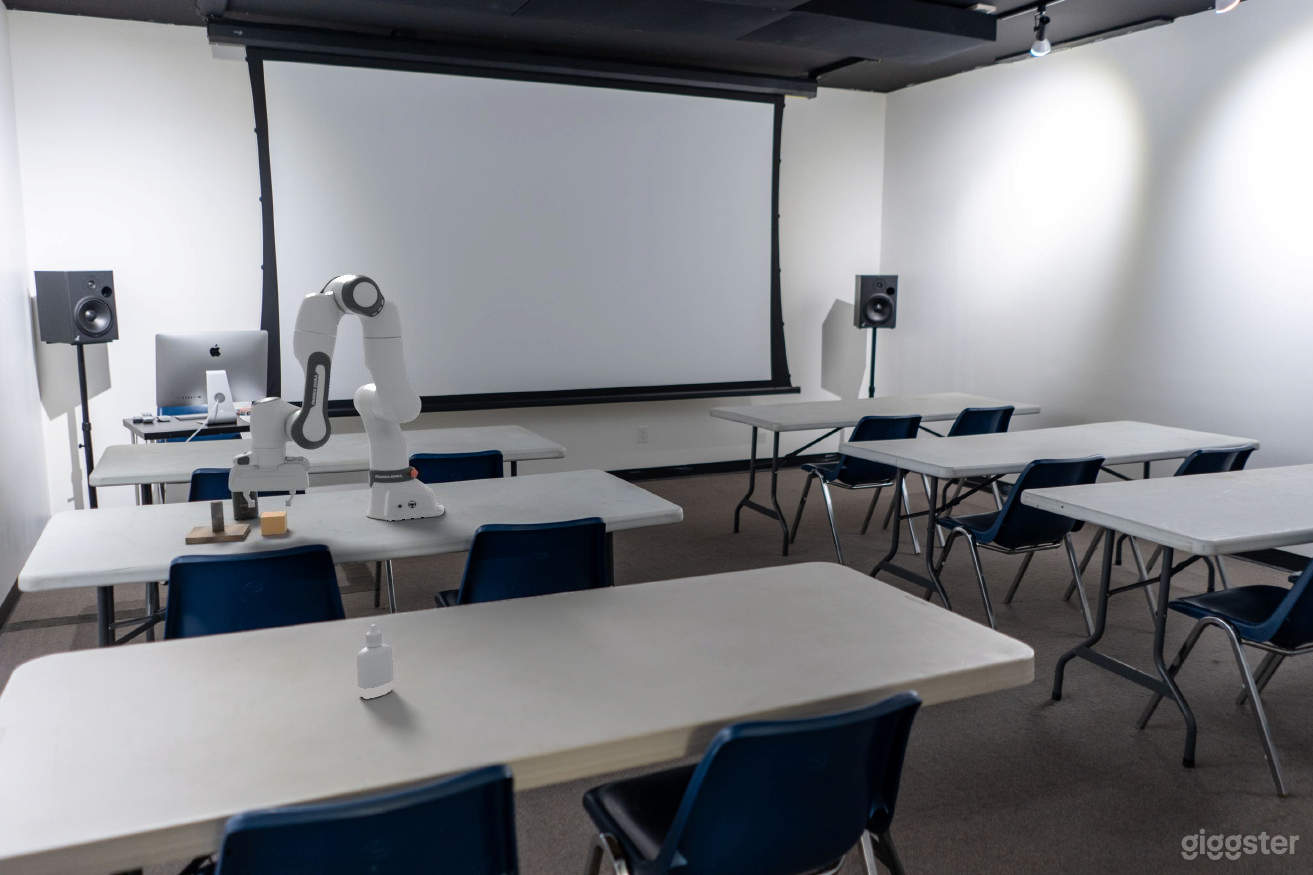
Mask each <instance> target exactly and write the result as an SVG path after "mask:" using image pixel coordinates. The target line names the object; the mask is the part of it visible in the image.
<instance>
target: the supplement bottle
mask: <svg viewBox="0 0 1313 875" xmlns="http://www.w3.org/2000/svg"><path fill="white" fill-rule="evenodd" d="M258 496H259V495H258V491H250V494H249V497H250V498H251V500H255V503H254V504H255V507H251V508H248V501H247V500H246V499H245V497H244V496H243V492H232V491H231V502H232V512H233V519H235V521H236V520H238V521H247V520H254V519H258V517H259V515H260V511H259V500H258V499H259V498H258Z"/></svg>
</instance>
